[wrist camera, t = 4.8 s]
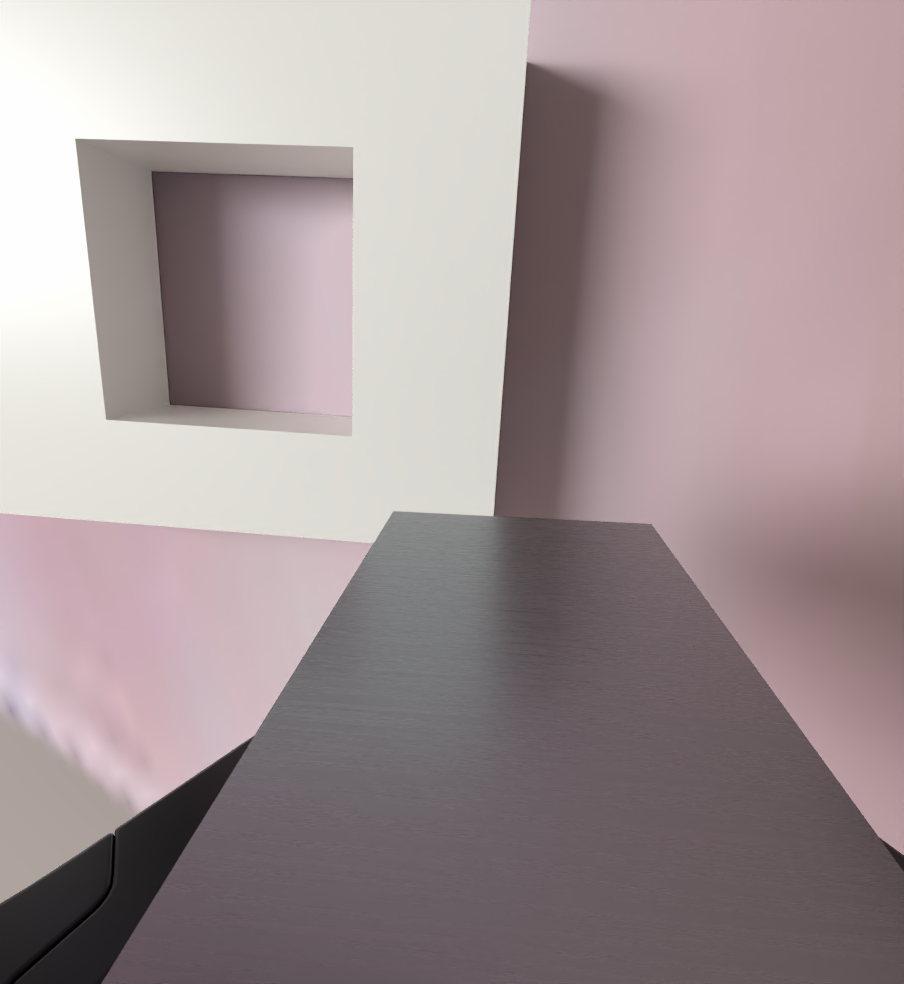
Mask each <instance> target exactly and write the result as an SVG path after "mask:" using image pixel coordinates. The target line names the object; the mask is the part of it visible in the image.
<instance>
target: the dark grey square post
mask: <svg viewBox="0 0 904 984" xmlns="http://www.w3.org/2000/svg"><path fill="white" fill-rule="evenodd" d="M101 984H904V871H903V870H902V869H901V867H900V866H899V864H898V863H897V862H896V860H895V859H894V858H893V856H892V855H891V853H890V852H889V851H888V849H887V848H886V847H885V845H884V844H883V842H882V841H881V840H880V838H879V837H878V836H877V834H876V833H875V831H874V830H873V829H872V827H871V826H870V825H869V823H868V822H867V820H866V819H865V818H864V816H863V815H862V814H861V812H860V811H859V809H858V808H857V807H856V805H855V804H854V803H853V801H852V800H851V798H850V797H849V796H848V794H847V793H846V792H845V790H844V789H843V787H842V786H841V785H840V783H839V782H838V781H837V779H836V778H835V776H834V775H833V774H832V772H831V771H830V770H829V768H828V767H827V765H826V764H825V763H824V761H823V760H822V759H821V757H820V756H819V754H818V753H817V752H816V750H815V749H814V748H813V746H812V745H811V743H810V742H809V741H808V739H807V738H806V737H805V735H804V734H803V732H802V731H801V730H800V728H799V727H798V726H797V724H796V723H795V721H794V720H793V719H792V717H791V716H790V715H789V713H788V712H787V710H786V709H785V708H784V706H783V705H782V703H781V702H780V701H779V699H778V698H777V697H776V695H775V694H774V692H773V691H772V690H771V688H770V687H769V686H768V684H767V683H766V681H765V680H764V679H763V677H762V676H761V675H760V673H759V672H758V670H757V669H756V668H755V666H754V665H753V664H752V662H751V661H750V659H749V658H748V657H747V655H746V654H745V653H744V651H743V650H742V648H741V647H740V646H739V644H738V643H737V642H736V640H735V639H734V637H733V636H732V635H731V633H730V632H729V631H728V629H727V628H726V626H725V625H724V624H723V622H722V621H721V620H720V618H719V617H718V615H717V614H716V613H715V611H714V610H713V609H712V607H711V606H710V604H709V603H708V602H707V600H706V599H705V598H704V596H703V595H702V593H701V592H700V591H699V589H698V588H697V587H696V585H695V584H694V582H693V581H692V580H691V578H690V577H689V576H688V574H687V573H686V571H685V570H684V569H683V567H682V566H681V565H680V563H679V562H678V560H677V559H676V558H675V556H674V555H673V554H672V552H671V551H670V549H669V548H668V547H667V545H666V544H665V543H664V541H663V540H662V538H661V537H660V536H659V534H658V533H657V532H656V530H655V529H654V527H653V526H652V525H651V524H638V523H618V522H598V521H579V520H559V519H539V518H519V517H500V516H480V515H460V514H440V513H420V512H401V511H393V513H392V514H391V516H390V517H389V519H388V521H387V522H386V524H385V526H384V527H383V529H382V530H381V532H380V534H379V535H378V537H377V539H376V540H375V542H374V543H373V545H372V547H371V548H370V550H369V551H368V553H367V555H366V556H365V558H364V560H363V561H362V563H361V564H360V566H359V568H358V569H357V571H356V572H355V574H354V576H353V577H352V579H351V581H350V582H349V584H348V585H347V587H346V589H345V590H344V592H343V594H342V595H341V597H340V598H339V600H338V602H337V603H336V605H335V606H334V608H333V610H332V611H331V613H330V615H329V616H328V618H327V619H326V621H325V623H324V624H323V626H322V628H321V629H320V631H319V632H318V634H317V636H316V637H315V639H314V640H313V642H312V644H311V645H310V647H309V649H308V650H307V652H306V653H305V655H304V657H303V658H302V660H301V661H300V663H299V665H298V666H297V668H296V670H295V671H294V673H293V674H292V676H291V678H290V679H289V681H288V683H287V684H286V686H285V687H284V689H283V691H282V692H281V694H280V695H279V697H278V699H277V700H276V702H275V704H274V705H273V707H272V708H271V710H270V712H269V713H268V715H267V716H266V718H265V720H264V721H263V723H262V725H261V726H260V728H259V729H258V731H257V733H256V734H255V736H254V738H253V739H252V741H251V742H250V744H249V746H248V747H247V749H246V750H245V752H244V754H243V755H242V757H241V759H240V760H239V762H238V763H237V765H236V767H235V768H234V770H233V771H232V773H231V775H230V776H229V778H228V780H227V781H226V783H225V784H224V786H223V788H222V789H221V791H220V793H219V794H218V796H217V797H216V799H215V801H214V802H213V804H212V805H211V807H210V809H209V810H208V812H207V814H206V815H205V817H204V818H203V820H202V822H201V823H200V825H199V827H198V828H197V830H196V831H195V833H194V835H193V836H192V838H191V839H190V841H189V843H188V844H187V846H186V848H185V849H184V851H183V852H182V854H181V856H180V857H179V859H178V860H177V862H176V864H175V865H174V867H173V869H172V870H171V872H170V873H169V875H168V877H167V878H166V880H165V882H164V883H163V885H162V886H161V888H160V890H159V891H158V893H157V894H156V896H155V898H154V899H153V901H152V903H151V904H150V906H149V907H148V909H147V911H146V912H145V914H144V915H143V917H142V919H141V920H140V922H139V924H138V925H137V927H136V928H135V930H134V932H133V933H132V935H131V937H130V938H129V940H128V941H127V943H126V945H125V946H124V948H123V949H122V951H121V953H120V954H119V956H118V958H117V959H116V961H115V962H114V964H113V966H112V967H111V969H110V971H109V972H108V974H107V975H106V977H105V979H104V980H103V982H102V983H101Z"/></svg>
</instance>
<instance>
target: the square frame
mask: <svg viewBox="0 0 904 984" xmlns="http://www.w3.org/2000/svg"><path fill="white" fill-rule="evenodd" d="M530 9H531V0H0V513H5V514H18V515H30V516H43V517H55V518H67V519H80V520H92V521H105V522H117V523H129V524H142V525H154V526H167V527H179V528H191V529H204V530H216V531H228V532H241V533H253V534H266V535H278V536H290V537H303V538H315V539H328V540H340V541H352V542H365V543H374V542H375V540H376V539H377V537H378V535H379V534H380V532H381V530H382V529H383V527H384V526H385V524H386V522H387V521H388V519H389V517H390V516H391V514H392V513H393V511H401V512H420V513H440V514H460V515H480V516H494V504H495V491H496V477H497V463H498V450H499V436H500V422H501V409H502V395H503V381H504V367H505V354H506V340H507V326H508V313H509V299H510V285H511V272H512V258H513V244H514V231H515V217H516V203H517V190H518V176H519V162H520V149H521V135H522V121H523V107H524V94H525V80H526V66H527V52H528V38H529V23H530ZM151 171H158V172H187V173H216V174H245V175H273V176H302V177H331V178H353V320H352V417H350V416H334V415H319V414H304V413H288V412H273V411H257V410H242V409H227V408H211V407H196V406H180V405H170V401H169V389H168V376H167V364H166V351H165V339H164V326H163V313H162V301H161V288H160V276H159V263H158V251H157V238H156V225H155V213H154V200H153V188H152V175H151Z"/></svg>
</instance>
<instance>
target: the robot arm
mask: <svg viewBox="0 0 904 984" xmlns="http://www.w3.org/2000/svg"><path fill="white" fill-rule="evenodd" d="M254 736H255V735H254ZM254 736H253V737H252V738H250V739H249V740H247V741H246V742H244V743H243V744H241V745H240V746H238V747H237V748H235V749H234V750H232V751H231V752H229V753H228V754H226V755H225V756H223V757H222V758H220V759H219V760H217V761H216V762H214V763H213V764H212V765H210V766H209V767H207V768H206V769H204V770H203V771H201V772H200V773H198V774H197V775H195V776H194V777H192V778H191V779H189V780H188V781H186V782H185V783H183V784H182V785H180V786H179V787H177V788H176V789H174V790H173V791H172V792H170V793H169V794H167V795H166V796H164V797H163V798H161V799H160V800H158V801H157V802H155V803H154V804H152V805H151V806H149V807H148V808H146V809H145V810H143V811H142V812H140V813H139V814H137V815H136V816H134V817H133V818H132V819H130V820H129V821H127V822H126V823H124V824H123V825H121V826H120V827H118V828H117V829H116V830H115V836H114V835H113V834H111V833H110V834H107V835H106V836H105V837H103V838H102V839H100V840H99V841H97V842H96V843H94V844H93V845H91V846H90V847H88V848H87V849H85V850H84V851H82V852H81V853H79V854H78V855H76V856H75V857H73V858H72V859H70V860H69V861H67V862H66V863H64V864H62V865H61V866H59V867H58V868H56V869H55V870H53V871H52V872H50V873H49V874H47V875H46V876H44V877H42V878H41V879H39V880H38V881H36V882H35V883H33V884H32V885H30V886H28V887H27V888H25V889H24V890H22V891H20V892H19V893H17V894H15V895H14V896H12V897H11V898H9V899H7V900H5V901H4V902H2V903H1V904H0V984H101V983H102V982H103V980H104V979H105V977H106V975H107V974H108V972H109V971H110V969H111V967H112V966H113V964H114V962H115V961H116V959H117V958H118V956H119V954H120V953H121V951H122V949H123V948H124V946H125V945H126V943H127V941H128V940H129V938H130V937H131V935H132V933H133V932H134V930H135V928H136V927H137V925H138V924H139V922H140V920H141V919H142V917H143V915H144V914H145V912H146V911H147V909H148V907H149V906H150V904H151V903H152V901H153V899H154V898H155V896H156V894H157V893H158V891H159V890H160V888H161V886H162V885H163V883H164V882H165V880H166V878H167V877H168V875H169V873H170V872H171V870H172V869H173V867H174V865H175V864H176V862H177V860H178V859H179V857H180V856H181V854H182V852H183V851H184V849H185V848H186V846H187V844H188V843H189V841H190V839H191V838H192V836H193V835H194V833H195V831H196V830H197V828H198V827H199V825H200V823H201V822H202V820H203V818H204V817H205V815H206V814H207V812H208V810H209V809H210V807H211V805H212V804H213V802H214V801H215V799H216V797H217V796H218V794H219V793H220V791H221V789H222V788H223V786H224V784H225V783H226V781H227V780H228V778H229V776H230V775H231V773H232V771H233V770H234V768H235V767H236V765H237V763H238V762H239V760H240V759H241V757H242V755H243V754H244V752H245V750H246V749H247V747H248V746H249V744H250V742H251V741H252V739H253V738H254ZM880 840H881V841H882V842H883V844H884V845H885V847H886V848H887V849H888V851H889V852H890V853H891V855H892V856H893V858H894V859H895V860H896V862H897V863H898V864H899V866H900V867H901V869H902V870H903V871H904V855H902V854H901V853H900V852H898V851H897V850H896V849H894V848H893V847H891V846H890V845H889V844H887V843H886V842H885V841H883V840H882V839H881V838H880Z"/></svg>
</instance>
